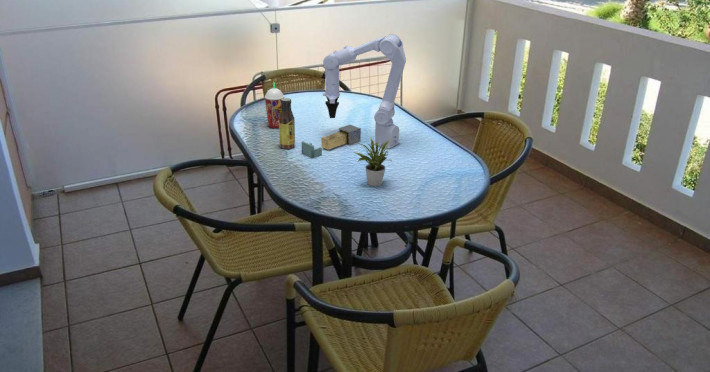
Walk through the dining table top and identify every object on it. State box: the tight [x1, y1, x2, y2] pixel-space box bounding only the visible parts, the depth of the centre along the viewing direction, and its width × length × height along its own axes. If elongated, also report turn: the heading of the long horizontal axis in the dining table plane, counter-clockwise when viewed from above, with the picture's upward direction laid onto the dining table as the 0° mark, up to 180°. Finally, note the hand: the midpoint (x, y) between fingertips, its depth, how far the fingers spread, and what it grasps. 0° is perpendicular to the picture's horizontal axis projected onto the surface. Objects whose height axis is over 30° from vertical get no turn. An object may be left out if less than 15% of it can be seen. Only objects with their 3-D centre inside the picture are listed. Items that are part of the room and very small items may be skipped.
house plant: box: [353, 137, 393, 187], centre depth 210 cm, size 14×14×16 cm
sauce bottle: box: [278, 97, 296, 150], centre depth 238 cm, size 6×6×20 cm
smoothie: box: [264, 81, 285, 129], centre depth 259 cm, size 8×8×20 cm
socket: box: [301, 141, 323, 159], centre depth 234 cm, size 5×7×5 cm
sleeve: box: [338, 124, 362, 146], centre depth 247 cm, size 6×6×6 cm
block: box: [320, 131, 349, 150], centre depth 243 cm, size 16×4×4 cm, turn 135°
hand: (332, 114), depth 249 cm, fingers open, 7 cm apart
